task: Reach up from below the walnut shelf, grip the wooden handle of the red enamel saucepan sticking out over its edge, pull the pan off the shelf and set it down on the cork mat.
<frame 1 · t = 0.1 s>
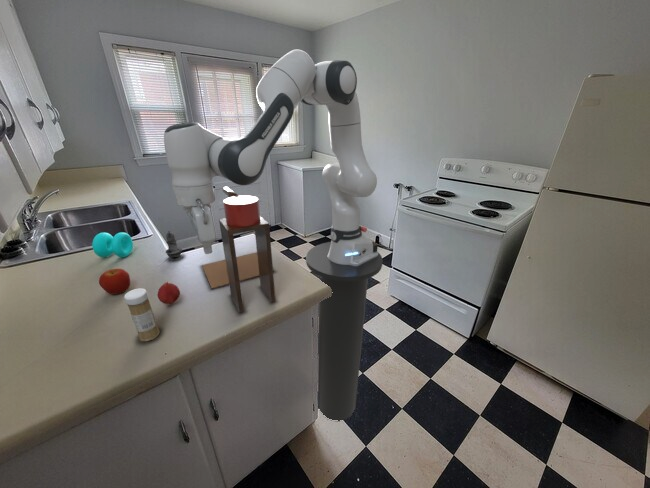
hand: (204, 245, 72), 21 cm above the countertop, tool pointing down, fingers open, 8 cm apart
onion: (171, 304, 82), on the countertop
shelf: (252, 298, 85), on the countertop
spice jar: (150, 336, 70), on the countertop
grey statuette: (175, 258, 109), on the countertop
saucepan: (243, 221, 74), point 26 cm above the countertop, touching shelf
donuts: (117, 256, 110), on the countertop
apple: (119, 291, 88), on the countertop
mat: (237, 269, 102), on the countertop
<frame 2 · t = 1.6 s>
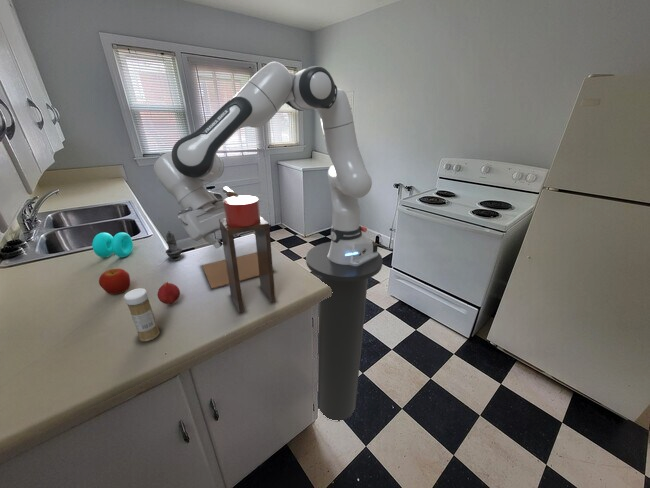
hand: (229, 240, 82), 18 cm above the countertop, tool tilted 40°, fingers open, 8 cm apart
nothing on the countertop moved.
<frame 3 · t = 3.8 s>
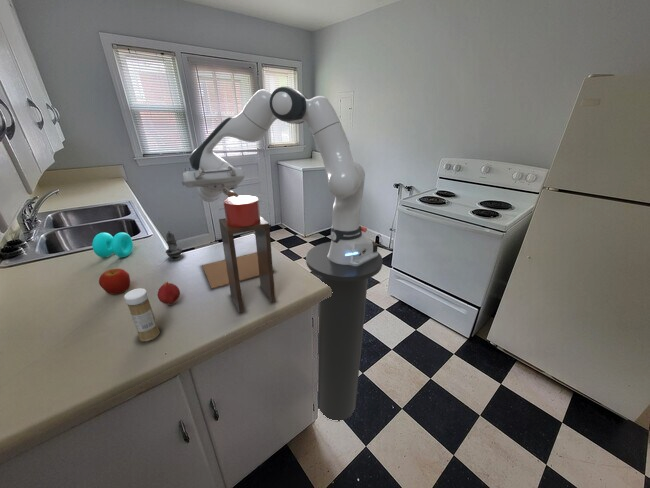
hand: (217, 169, 89), 36 cm above the countertop, tool pointing upward, fingers open, 8 cm apart
nothing on the countertop moved.
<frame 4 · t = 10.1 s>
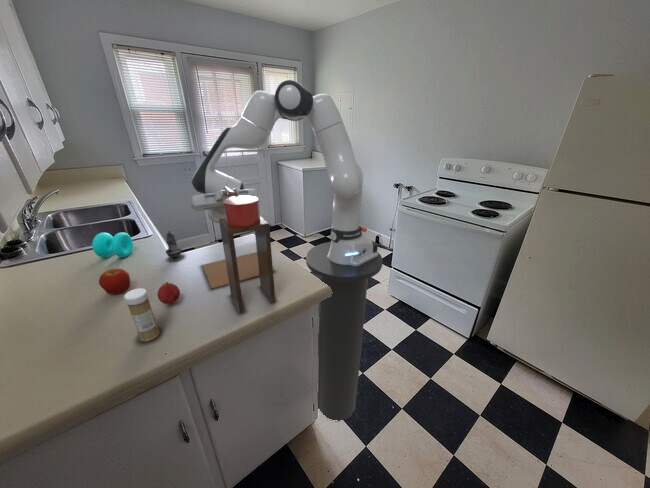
hand: (229, 192, 81), 31 cm above the countertop, tool pointing upward, fingers closed on saucepan, 2 cm apart
saucepan: (243, 221, 74), point 26 cm above the countertop, touching gripper, shelf
everything else where it was.
when the fingers open (17 cm above the countertop, at t = 19.6 s): saucepan drops 11 cm, resting on mat.
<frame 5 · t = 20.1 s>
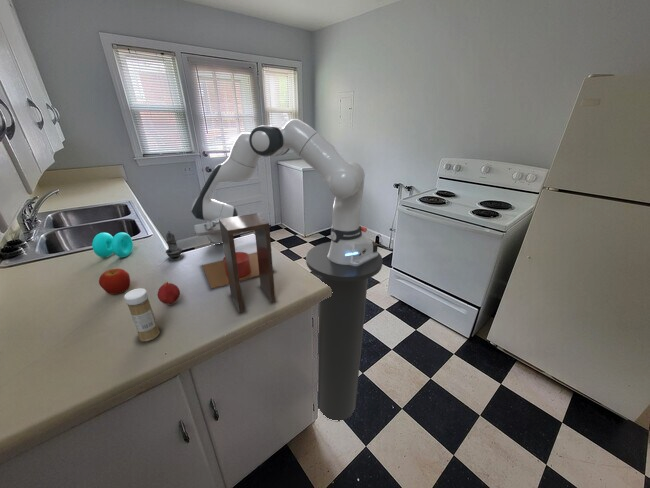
hand: (225, 222, 98), 17 cm above the countertop, tool pointing upward, fingers open, 7 cm apart
saucepan: (238, 272, 99), resting on mat
everything else where it was.
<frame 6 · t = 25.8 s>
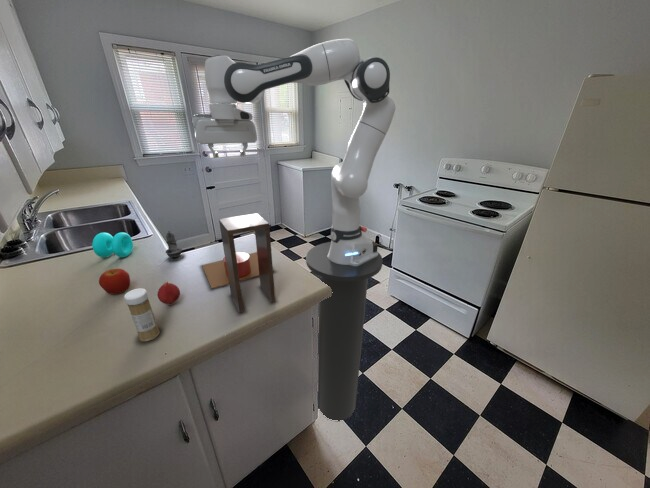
hand: (229, 156, 96), 39 cm above the countertop, tool pointing down, fingers open, 8 cm apart
nothing on the countertop moved.
at the end: saucepan inside the target area on the mat (2.6 cm from its centre), point 0.4 cm above the mat's base; the gripper is holding nothing; saucepan moved 31.3 cm from its start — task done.
